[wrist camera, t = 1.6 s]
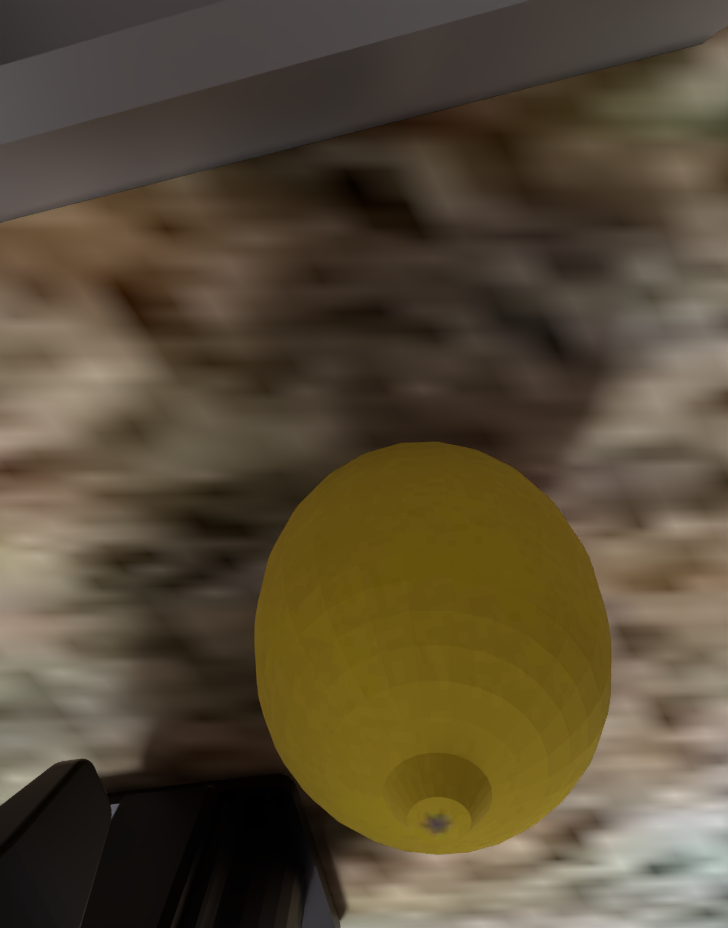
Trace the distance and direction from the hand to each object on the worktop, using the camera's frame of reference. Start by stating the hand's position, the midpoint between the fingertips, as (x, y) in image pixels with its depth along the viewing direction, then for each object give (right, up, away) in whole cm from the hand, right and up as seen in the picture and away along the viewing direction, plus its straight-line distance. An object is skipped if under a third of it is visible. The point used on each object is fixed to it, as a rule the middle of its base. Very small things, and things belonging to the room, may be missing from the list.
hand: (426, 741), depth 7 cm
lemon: (0, +2, +7) cm, 7 cm away
